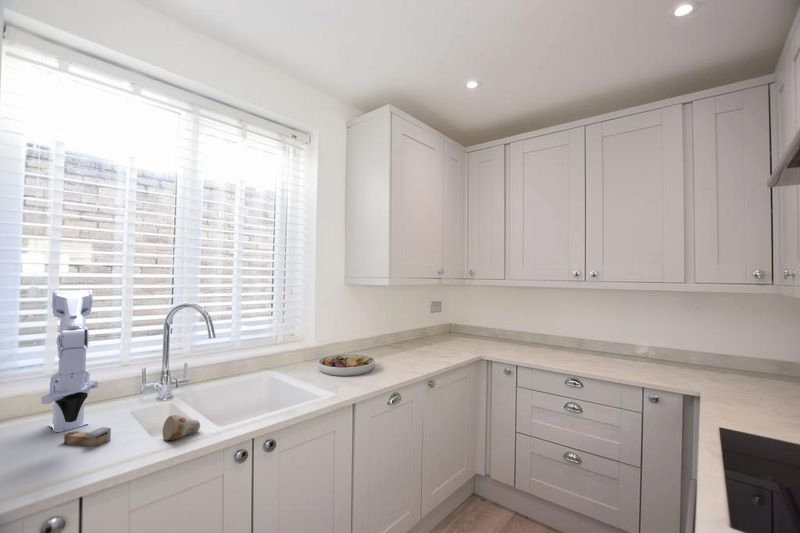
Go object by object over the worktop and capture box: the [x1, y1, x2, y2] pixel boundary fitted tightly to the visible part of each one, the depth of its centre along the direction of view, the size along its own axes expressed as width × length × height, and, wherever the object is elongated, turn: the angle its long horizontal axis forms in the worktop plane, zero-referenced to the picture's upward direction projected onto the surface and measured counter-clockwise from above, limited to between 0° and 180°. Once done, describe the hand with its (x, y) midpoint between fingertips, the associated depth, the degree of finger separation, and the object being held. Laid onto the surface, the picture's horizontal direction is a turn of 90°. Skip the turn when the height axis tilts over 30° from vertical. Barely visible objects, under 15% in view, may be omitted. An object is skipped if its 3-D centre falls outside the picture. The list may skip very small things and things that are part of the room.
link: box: [63, 429, 108, 447], centre depth 108 cm, size 12×3×3 cm, turn 83°
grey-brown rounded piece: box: [162, 414, 201, 441], centre depth 114 cm, size 8×10×10 cm
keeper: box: [86, 426, 112, 443], centre depth 108 cm, size 3×5×4 cm, turn 169°
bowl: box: [317, 354, 376, 377], centre depth 195 cm, size 30×30×8 cm
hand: (70, 421), depth 104 cm, fingers closed
